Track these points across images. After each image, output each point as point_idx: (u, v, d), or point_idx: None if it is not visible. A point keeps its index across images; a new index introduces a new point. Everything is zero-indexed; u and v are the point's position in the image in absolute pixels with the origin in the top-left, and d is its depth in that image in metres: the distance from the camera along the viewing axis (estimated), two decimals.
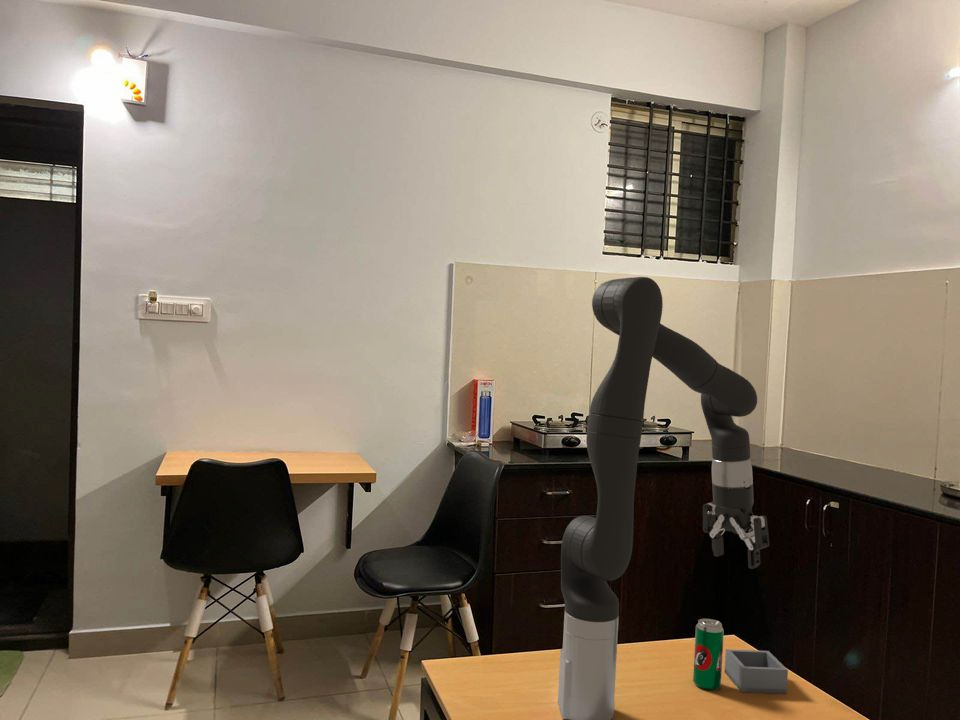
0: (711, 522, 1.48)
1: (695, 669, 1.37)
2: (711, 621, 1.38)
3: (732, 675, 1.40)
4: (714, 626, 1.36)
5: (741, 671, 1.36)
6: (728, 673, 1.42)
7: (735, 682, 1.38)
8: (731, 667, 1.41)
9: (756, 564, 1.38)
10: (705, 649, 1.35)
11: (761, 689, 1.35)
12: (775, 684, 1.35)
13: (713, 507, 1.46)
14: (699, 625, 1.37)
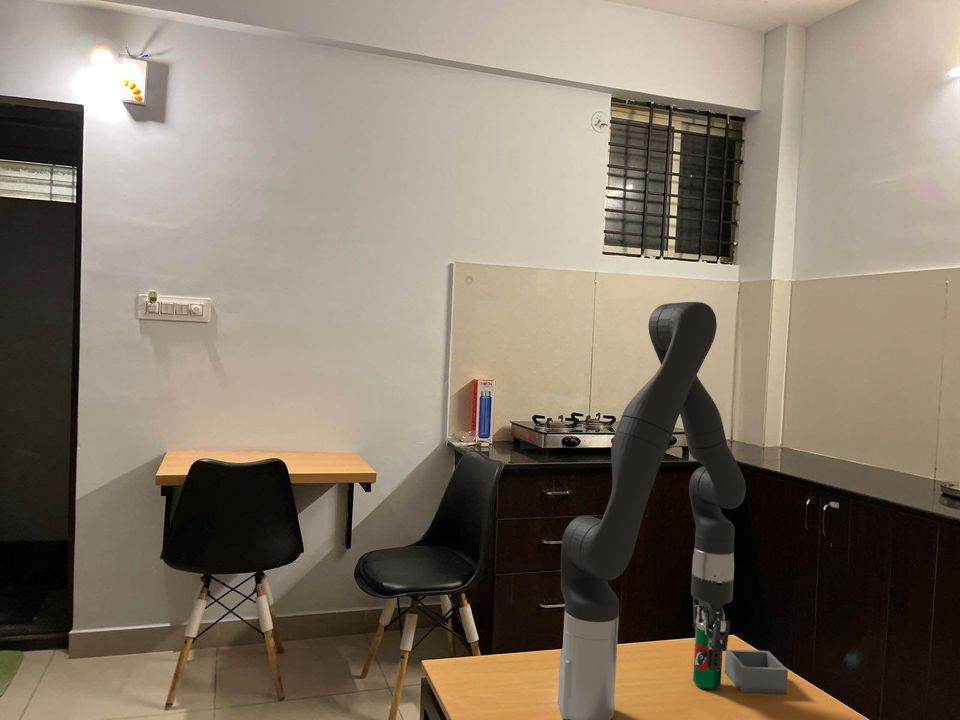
0: None
1: (695, 669, 1.37)
2: None
3: (732, 675, 1.40)
4: None
5: (741, 671, 1.36)
6: (728, 673, 1.42)
7: (735, 682, 1.38)
8: (731, 667, 1.41)
9: (713, 666, 1.34)
10: (705, 649, 1.35)
11: (761, 689, 1.35)
12: (775, 684, 1.35)
13: None
14: (699, 625, 1.37)
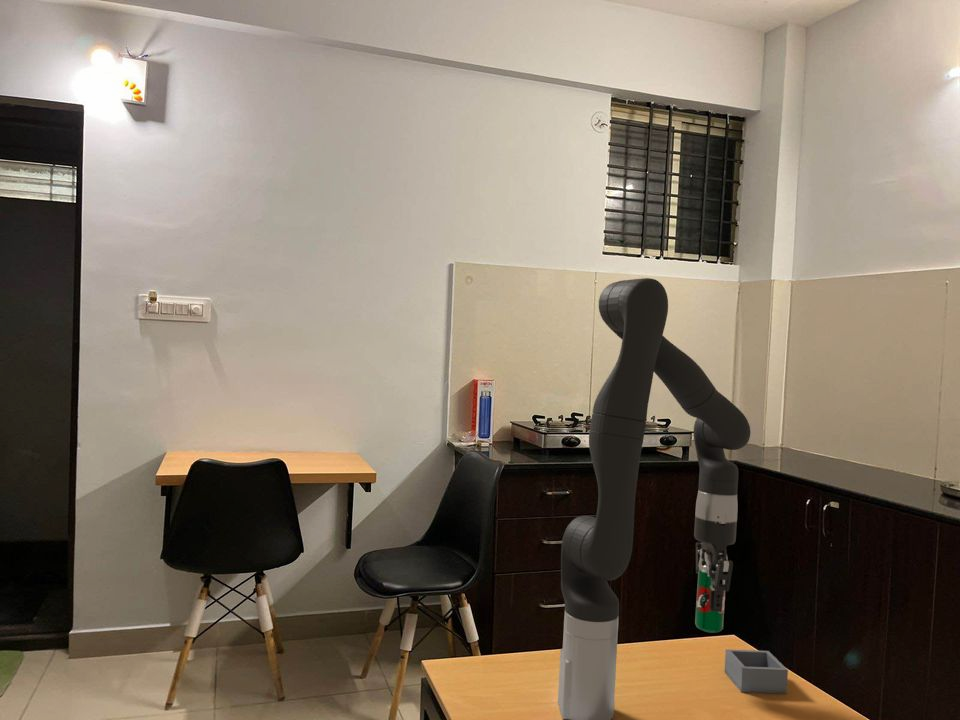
0: None
1: (697, 612, 1.37)
2: None
3: (732, 675, 1.40)
4: None
5: (741, 671, 1.36)
6: (728, 673, 1.42)
7: (735, 682, 1.38)
8: (731, 667, 1.41)
9: (715, 607, 1.33)
10: (707, 591, 1.35)
11: (761, 689, 1.35)
12: (775, 684, 1.35)
13: None
14: (702, 568, 1.37)
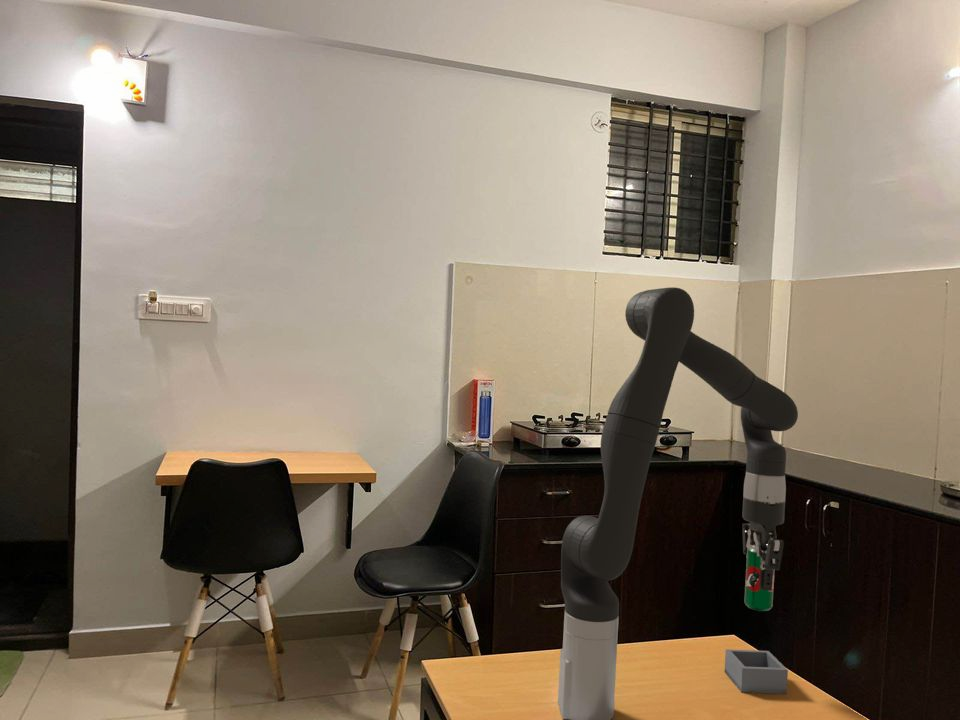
0: None
1: (747, 591, 1.39)
2: None
3: (732, 675, 1.40)
4: None
5: (741, 671, 1.36)
6: (728, 673, 1.42)
7: (735, 682, 1.38)
8: (731, 667, 1.41)
9: (766, 586, 1.36)
10: (757, 570, 1.37)
11: (761, 689, 1.35)
12: (775, 684, 1.35)
13: None
14: (751, 547, 1.39)
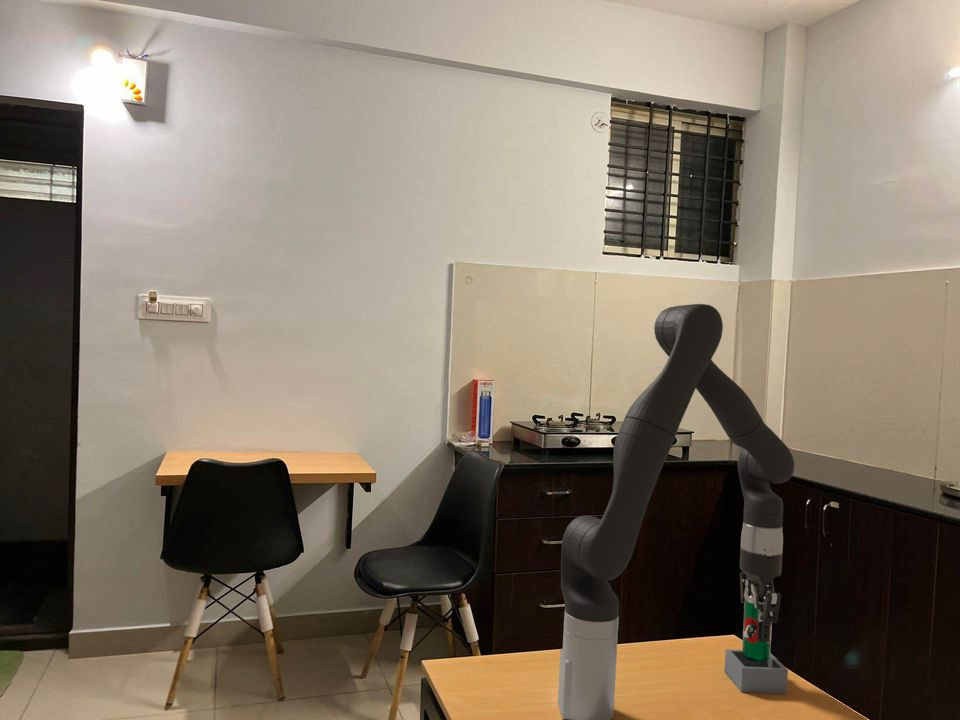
0: None
1: (744, 642, 1.39)
2: None
3: (732, 675, 1.40)
4: None
5: (741, 671, 1.36)
6: (728, 673, 1.42)
7: (735, 682, 1.38)
8: (731, 667, 1.41)
9: (763, 638, 1.36)
10: (755, 622, 1.38)
11: (761, 689, 1.35)
12: (775, 684, 1.35)
13: None
14: (748, 598, 1.39)
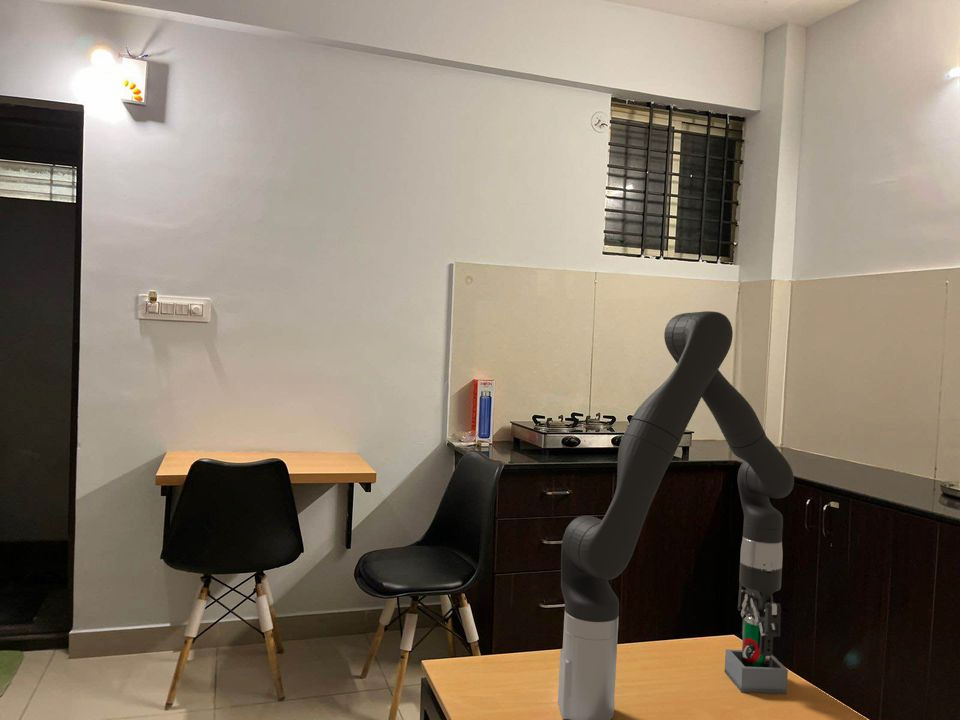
0: None
1: (743, 662, 1.39)
2: None
3: (732, 675, 1.40)
4: None
5: (741, 671, 1.36)
6: (728, 673, 1.42)
7: (735, 682, 1.38)
8: (731, 667, 1.41)
9: (766, 652, 1.34)
10: (753, 642, 1.38)
11: (761, 689, 1.35)
12: (775, 684, 1.35)
13: None
14: (747, 619, 1.39)
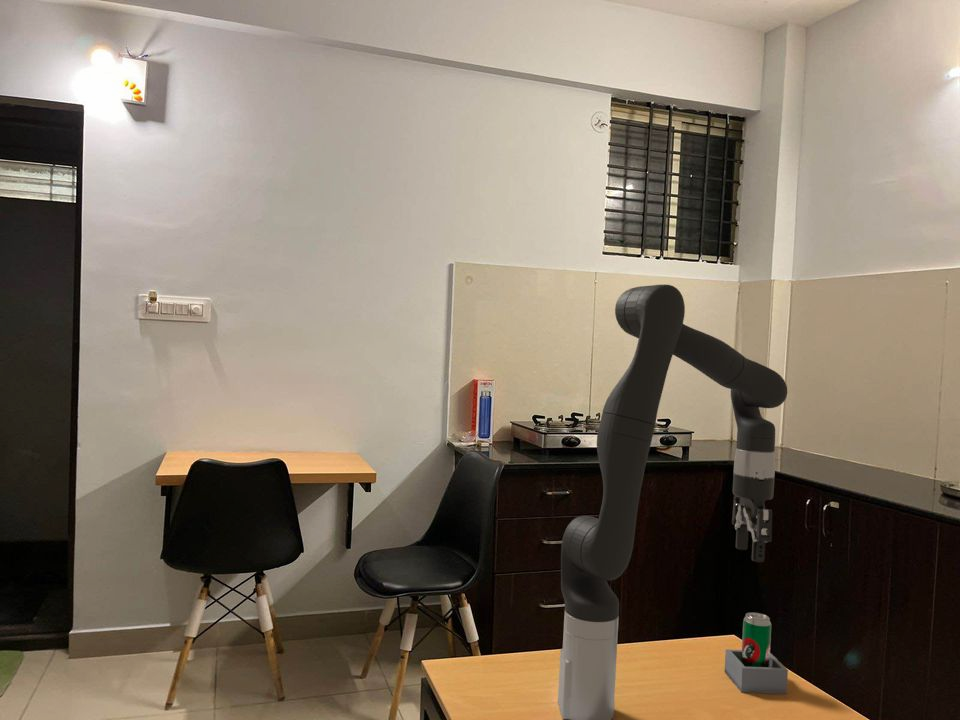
0: None
1: (743, 662, 1.39)
2: (758, 615, 1.40)
3: (732, 675, 1.40)
4: (762, 620, 1.38)
5: (741, 671, 1.36)
6: (728, 673, 1.42)
7: (735, 682, 1.38)
8: (731, 667, 1.41)
9: (758, 557, 1.37)
10: (753, 642, 1.38)
11: (761, 689, 1.35)
12: (775, 684, 1.35)
13: None
14: (747, 619, 1.39)
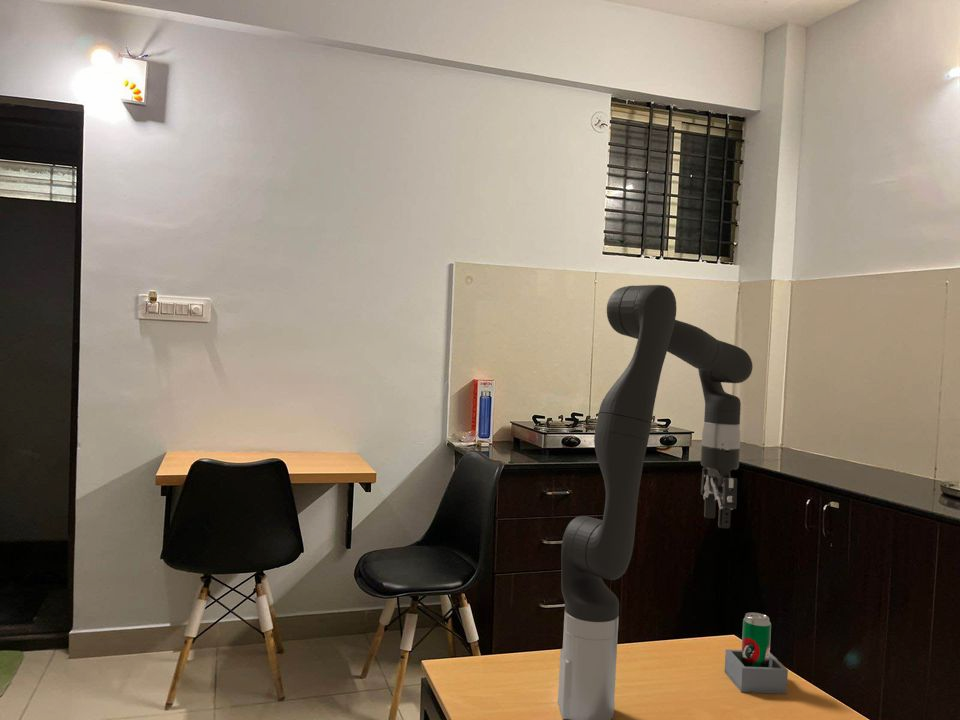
0: None
1: (743, 662, 1.39)
2: (758, 615, 1.40)
3: (732, 675, 1.40)
4: (762, 620, 1.38)
5: (741, 671, 1.36)
6: (728, 673, 1.42)
7: (735, 682, 1.38)
8: (731, 667, 1.41)
9: (724, 524, 1.45)
10: (753, 642, 1.38)
11: (761, 689, 1.35)
12: (775, 684, 1.35)
13: None
14: (747, 619, 1.39)
